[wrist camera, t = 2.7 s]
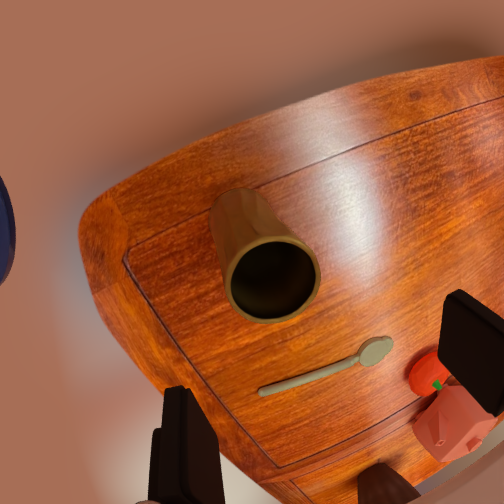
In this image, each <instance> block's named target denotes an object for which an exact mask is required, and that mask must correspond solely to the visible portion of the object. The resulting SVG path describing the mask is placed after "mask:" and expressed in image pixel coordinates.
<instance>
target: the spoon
mask: <svg viewBox="0 0 504 504" xmlns="http://www.w3.org/2000/svg"><path fill="white" fill-rule="evenodd" d="M392 348H393V340H392V339H391V338H390V337H388V336H385V337H382V338H380V337H375V338H371V339H369V340H367V341H366V342H365V343H364V344H363V345H362V346H361V347H360V349H359V350H358V353H357V354H355V355H353V356H350V357H347V358H346V359H345V360H343V361H340V362H337V363H335V364H332V365H329V366H327V367H324V368H321V369H318V370H315V371H313V372H310V373H307V374H304V375H301V376H298V377H295V378H292V379H289V380H285V381H282V382H279V383H276V384H272V385H269V386H266V387H262V388H260V389H259V390H258V394H259V395H260V396H262V397H263V396H267V395H270V394H274V393H277V392H280V391H284V390H287V389H290V388H293V387H296V386H299V385H302V384H305V383H308V382H311V381H314V380H317V379H319V378H322V377H325V376H328V375H331V374H333V373H336V372H339V371H341V370H344V369H346V368H349V367H351V366H353V365H354V363H356V362H358V361H359V362H360V363H361V364H362V365H363V366H366V367H370V366H373V365H376V364H377V363H379V362H380V361H381V360H382V359H383V358H384V357H385V355H387V354H388V353H389V352H390V351H391V349H392Z"/></svg>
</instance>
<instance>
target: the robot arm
mask: <svg viewBox="0 0 504 504" xmlns="http://www.w3.org/2000/svg"><path fill="white" fill-rule="evenodd" d="M437 356H438V359H439V361H440V362H441V363H442V364H443V365H444V366H445V367H446V368H447V370H448V371H449V372H450V373H451V374H452V375H453V376H454V377H455V378H456V379H457V380H458V381H459V382H460V383H461V385H462V386H463V387H464V388H465V389H466V390H467V391H468V392H469V393H470V394H471V396H472V397H473V398H474V399H475V400H476V401H477V402H478V403H479V404H480V406H481V407H482V408H483V409H484V410H485V411H486V412H487V413H489V414H492V415H493V416H494V417H495V418H496V417H497V416H498V415H500V414H501V413H502V412H503V411H504V319H503V318H501V317H500V316H499V315H497V314H496V313H494V312H493V311H492V310H490V309H489V308H488V307H486V306H485V305H483V304H482V303H481V302H479V301H478V300H476V299H475V298H473V297H472V296H471V295H469V294H468V293H466V292H465V291H463V290H461V289H458V290H456V291H454V292H452V293H450V294H448V295H447V296H446V299H445V301H444V304H443V314H442V323H441V331H440V338H439V345H438V352H437ZM136 504H225V496H224V488H223V480H222V472H221V463H220V453H219V443H218V438H217V435H216V433H215V431H214V430H213V428H212V426H211V425H210V423H209V421H208V419H207V418H206V416H205V414H204V413H203V411H202V409H201V407H200V406H199V404H198V402H197V400H196V398H195V397H194V395H193V393H192V391H191V389H190V388H187V389H185V388H184V386H182V385H180V386H175V387H171V388H166V389H165V392H164V402H163V414H162V425H161V428H156V429H155V430H154V431H153V435H152V445H151V457H150V470H149V485H148V500H145V501H140V502H138V503H136ZM407 504H504V440H503V441H502V442H501V443H500V444H498V445H497V446H496V447H495V448H494V449H492V450H491V451H490V452H488V453H487V454H486V455H484V456H483V457H482V458H480V459H479V460H477V461H476V462H475V463H473V464H472V465H470V466H469V467H468V468H466V469H465V470H463V471H462V472H460V473H459V474H457V475H456V476H454V477H453V478H451V479H449V480H448V481H446V482H444V483H443V484H441V485H440V486H438V487H436V488H435V489H433V490H431V491H429V492H427V493H426V494H424V495H422V496H420V497H418V498H417V499H415V500H413V501H411V502H409V503H407Z"/></svg>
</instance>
